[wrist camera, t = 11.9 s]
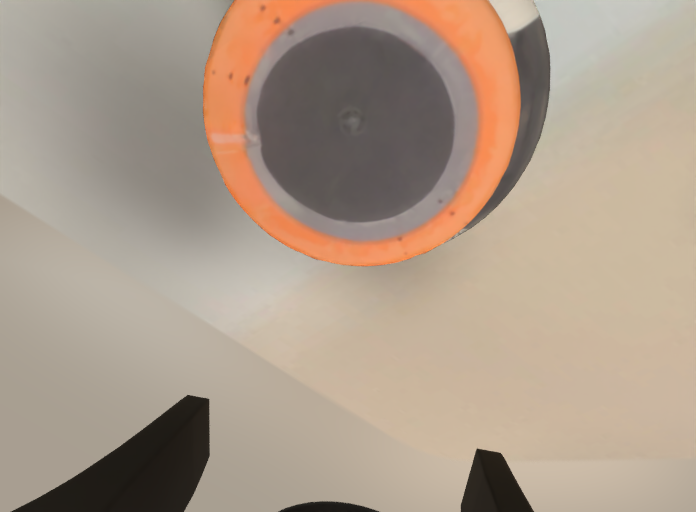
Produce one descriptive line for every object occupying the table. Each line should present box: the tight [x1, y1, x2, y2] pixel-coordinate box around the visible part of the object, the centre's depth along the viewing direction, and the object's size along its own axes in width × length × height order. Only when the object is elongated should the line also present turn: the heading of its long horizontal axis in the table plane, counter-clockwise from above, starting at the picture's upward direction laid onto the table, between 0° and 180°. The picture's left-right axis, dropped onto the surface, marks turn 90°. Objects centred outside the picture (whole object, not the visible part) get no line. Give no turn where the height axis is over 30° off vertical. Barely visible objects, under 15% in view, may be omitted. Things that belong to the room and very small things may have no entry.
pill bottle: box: [203, 0, 550, 266], centre depth 11 cm, size 6×6×11 cm
